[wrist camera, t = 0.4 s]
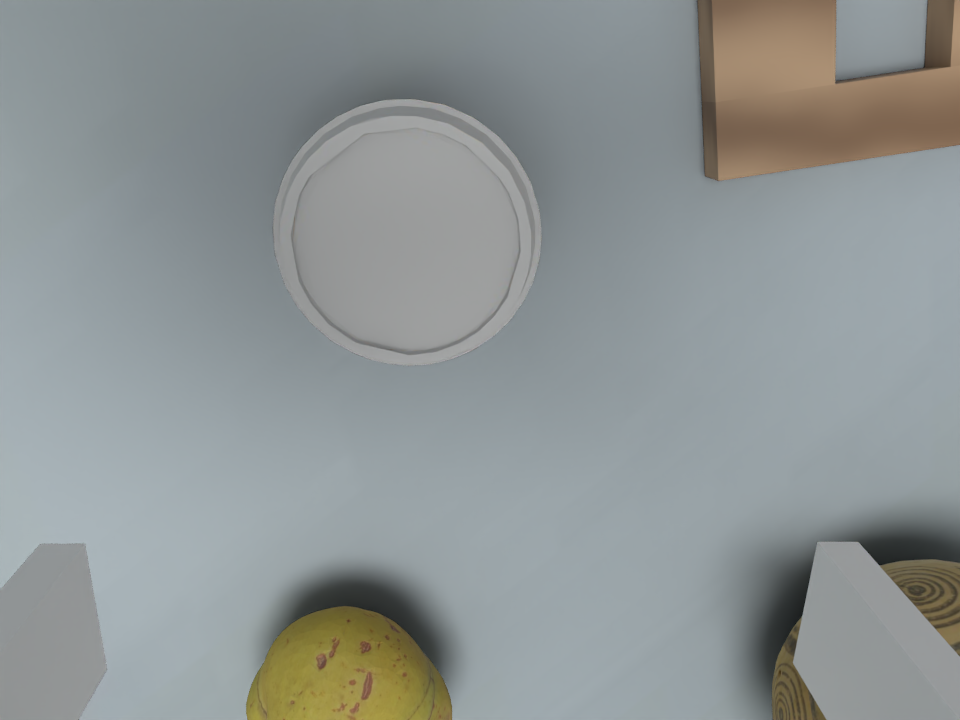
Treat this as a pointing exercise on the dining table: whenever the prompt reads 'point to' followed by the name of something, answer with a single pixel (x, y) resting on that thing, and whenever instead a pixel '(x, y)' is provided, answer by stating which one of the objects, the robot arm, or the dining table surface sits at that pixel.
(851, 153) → the keyhole board
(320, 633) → the fruit
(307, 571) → the dining table surface
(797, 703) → the brass pot
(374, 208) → the disposable coffee cup
